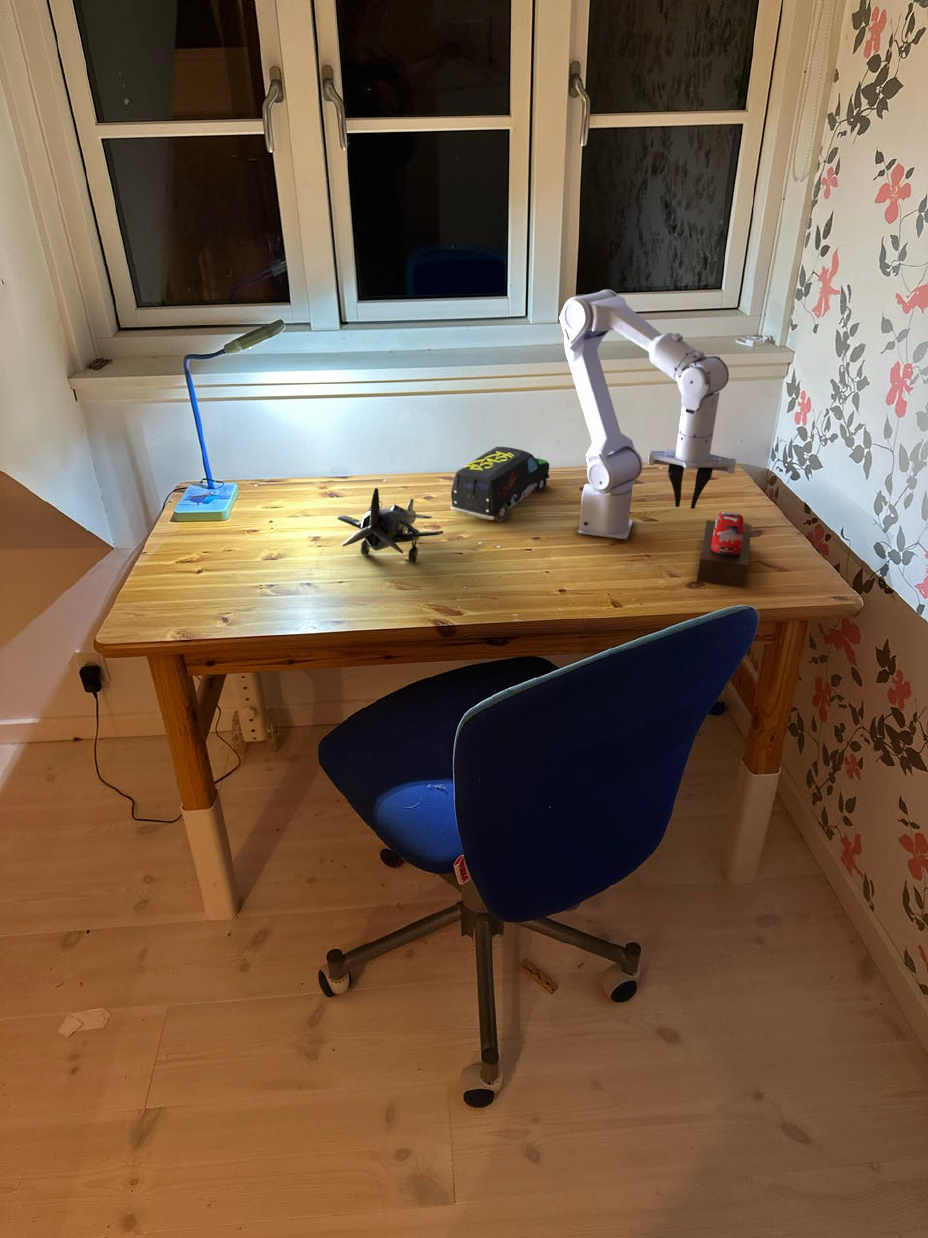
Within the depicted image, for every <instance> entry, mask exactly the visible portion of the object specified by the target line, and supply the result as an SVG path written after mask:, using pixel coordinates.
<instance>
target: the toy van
mask: <svg viewBox="0 0 928 1238" xmlns="http://www.w3.org/2000/svg"><path fill="white" fill-rule="evenodd" d="M549 472H550V463H549V461H547V460H545V459H543V458H538V457H535V456H534V455H533V453H531V452H528V451H525V450H523V449H519V448H514V447H508V446H495V447H493V448H492V449H490V450H488V451H486V452H484V453H483V454H481V455H480V456H478V457H476V458H475V459H473V460H472V461H470V462H469V463H467V464H466V465H464V466H463V467H461V468H460V469H458V470H457V471H456V472H455V475H454V477H453V481H452V486H451V491H450V494H451V495H450V498H451V505H450V509H451V511H454V512H458V513H461V514H465V515H469V516H472V517H476V518H479V519H483V520H484V519H485V520H488V521H494V520H495V521H499V522H500V521H503V520H504V519H505V518H507V517H508V516H509V513H510V508H512V507H513V506H515V505H516V504H517V503H519V502H521V500H523V499H524V498H525V497H527V496H528V495H529V494H531V493H532V492H535V493H541V492H543V491H544V490H546V486H547V480H550V478H551V474H550V473H549Z"/></svg>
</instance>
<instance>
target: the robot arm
mask: <svg viewBox="0 0 928 1238" xmlns="http://www.w3.org/2000/svg"><path fill="white" fill-rule="evenodd" d="M558 319H559V322H560V324H561V328H562V332H563V335H564V351H565V356H566V359H567V362H568V366H569V369H570V372H571V375H572V379H573V383H574V385H575V389H576V391H577V392H576V393H577V396H578V399H579V403H580V406H581V409H582V412H583V415H584V419H585V422H586V426H587V429H588V432H589V435H590V439H591V445H590V446H589V448H588V450H587V452H586V453H585V460H586V464H587V469H586V475H587V480H588V482H589V483H584V486H583V489H582V493H581V502H580V512H579V526H578V531H577V532H578V534H581V535H587V536H594V537H602V538H609V539H610V538H611V539H619V540H628V538H629V535H630V533H631V530H632V527H633V523H634V522H633V520H632V519H631V520H630V515H631V506H632V505H631V504H632V496H633V489H634V487H633V486H635V484H636V483H635V482H636V479H638V478H639V477H640V476H641V474H642V472H643V468H644V464H643V459H642V456H641V455H640V454H639V452H638V451H637V450H636V448H635V445H634V443H633V440H632V438H630V437H628V436H626V435H625V434H623V433H622V432H621V428H620V425H619V422H618V419H617V415H616V411H615V408H614V405H613V401H612V397H611V394H610V391H609V387H608V384H607V381H606V376H605V374H604V370H603V367H602V364H601V360H600V356H599V353H598V349H599V347H600V346H601V343H602V341H603V339H604V338H605V337H606V336H607V335H608V333H609V332H610V331H615V332H617V333H619V335H622V336H623V337H624V338H626V339H627V340H629V341H631V342H633V343H634V344H635V345H637V346H639V347H640V348H642V349H643V350H645V351H646V352H648V356H649V357H648V358H649V362H650V363H651V364H652V365H653V366H655V367H656V368H658V369H659V370H660V371H662V372H663V373H664V374H666V375H667V376H668V377H669V378H671V379H672V380H674V382H676V383H677V388H678V391H679V393H680V395H681V401H680V404H681V409H680V418H679V426H678V433H677V440H676V447H675V450H650V452H649V454H648V458H647V459H648V460H647V465H649V466H655V465H662V466H668V468H667V469H668V470H667V476H668V478H669V481H670V483H671V487H672V489H673V490H672V491H673V495H674V507H675V508H680V505H681V500H682V486H683V479H684V471H685V469H689V470H697V471H696V475H695V482H694V490H693V494H692V499H691V504H690V510H695V509H696V505H697V502H698V500H699V498H700V496H701V494H702V492H703V490H704V488H705V487H706V485H707V484H708V483H709V482H710V480H711V478H712V476H713V471H718V472H727V474H733V475H734V474H735V470H736V465H737V459H736V458H732V457H731V458H729V457H725V456H721V455H717V454H712V453H711V450H712V443H713V437H714V431H715V425H716V419H717V413H718V405H719V399H720V394H721V393H720V391H722V390H723V389H725V387H726V386H727V384H728V382H729V380H730V379H729V378H730V372H729V367H728V365H727V364H726V363H725V361H724V360H723V359H722V358H721V357H720V356H718V355H710V356H707V355H705V353H704V352H703V351H702V350H701V349H699V350H697V349H696V348H695V347H693V346H692V345H690V344H689V343H688V342H686V341H685V340H683V338H684V335H682V334H681V333H679V332H676V333H673V332H667V333H664V334H662V333H661V332H660V331H658V330H657V329H656V328H655V327H653V326H652V324H650V323H649V322H648V321H647V320H645V319H644V318H643V317H642V316H641V315H639V314H638V313H637V312H636V311H634V310H633V309H632V308H631V307H630V306H629V305H628V304H627V302H626V299H625V298H624V297H623V296H621V295H618V294H617V293H616V292H615V291H614V290H612V289H602V290H600V291H597V292H592V293H588V294H585V295H580V296H577V295H576V296H575V295H574V296H572V297H570V298H568V299H567V300H566V302H565V303H564V305H563V308H562V310H561V312H560V315H559V316H558Z"/></svg>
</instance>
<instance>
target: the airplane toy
mask: <svg viewBox="0 0 928 1238" xmlns="http://www.w3.org/2000/svg"><path fill="white" fill-rule="evenodd" d="M414 500H415V499H414V498H412V497H410V499H409V502H408V505H407V508H406V509H404V508H403V507H401V506H398V505H397V504H398V503H397V502H395V503H394V504H392V505H391V506H390V507H389V508H382V507H383V505H384V504H383V502H382V501H381V500H380V493H379V488H377V487H375V488H374V490H373V493H372V497H371V503H370V507H368V508H367V510H366V513H364V514H363V517H362V518H361V519H362V520H359V519H356V518H355V517H351V516H348V515H339V516H337V520H338V521H341V522H343V523H345V524H348V525H351V526H352V527H355V528H357V529H360V530H359V531H357V532H355V533H354V534H353V535H352V536H350V537H349V538H348V539H347V540H345V541H344V542H343V543H342V544H341V546H342V547H347V546H349V545H352V544H354V543H357V542H359V541H361V540H362V542H361V543H360V554H361V556H364V557H366V556H368V555H369V553H370V550H371V549H372V550H374V551H375V552H376V551H381V550H383V549H387V548H389V547H391V548H392V549H394V550H396V551H397V552H399V553H400V554H404V550H402V549H401V547H400V546H399V545H398V544H402V543H409V542H411V548H410V549H409V550H408V563H409V564H411V565H413V564H416V563H417V559H418V556H419V555H418V554H419V547H417V541H418V540H419V539H420V537H422V538H423V537H432V536H439V535H443V534H444V530H432V531H419V529H418V528H415V527H413V525H414V524H415V521H416V519H432V518H433V516H430V515H425V514H418V513H417V512H416V511H415V510H414ZM380 504H381V505H380Z"/></svg>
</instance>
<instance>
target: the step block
mask: <svg viewBox="0 0 928 1238" xmlns="http://www.w3.org/2000/svg"><path fill="white" fill-rule="evenodd" d="M714 527H715V520H711V519H710V520H709V519H707V520H706V523H705V527H704V535H703V540H702V545H701V551H700V556H699V561H698V568H697V574H696V582H700V583H707V584H716V585H723V586H730V587H736V588H744V587H745V584H746V578H747V573H748V569H749V568H748V567H749V558H750V546H751V534H752V532H751V531H752V525H750V524H744V529H743V531H745V533H743V541H742V548H741V553H740V554H736V555H725V554H720V553H717V552H714V551H711V546H712V545H711V544H712V538H713V532H714V529H713V528H714Z"/></svg>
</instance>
